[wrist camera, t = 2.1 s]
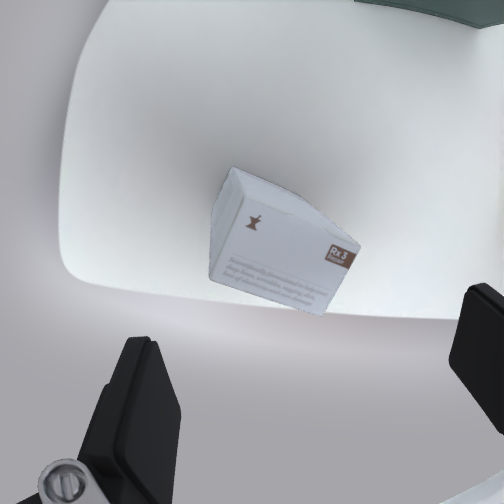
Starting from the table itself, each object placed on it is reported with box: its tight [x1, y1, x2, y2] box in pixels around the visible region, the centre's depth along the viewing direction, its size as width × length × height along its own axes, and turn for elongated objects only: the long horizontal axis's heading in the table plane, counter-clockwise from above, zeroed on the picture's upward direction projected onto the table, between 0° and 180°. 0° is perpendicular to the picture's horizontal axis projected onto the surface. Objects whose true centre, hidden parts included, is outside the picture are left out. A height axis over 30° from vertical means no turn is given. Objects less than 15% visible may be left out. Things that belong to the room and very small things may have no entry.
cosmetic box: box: [209, 167, 360, 317], centre depth 20 cm, size 6×4×12 cm
